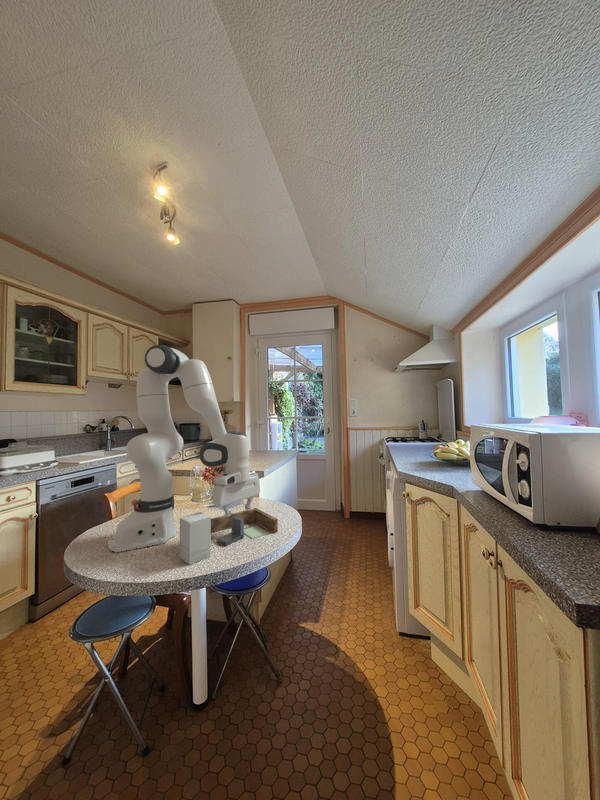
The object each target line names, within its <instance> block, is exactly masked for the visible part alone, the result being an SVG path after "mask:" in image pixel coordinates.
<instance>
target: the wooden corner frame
mask: <svg viewBox="0 0 600 800" xmlns="http://www.w3.org/2000/svg"><path fill="white" fill-rule="evenodd" d="M234 516H236V517H239V518H242V519H244V525H247V524H250V522H251V523H254V521H255V523H256V524H257V525H259V524H260V525H259V526H261V525H262V528H264V527H265V529H266V528H267V530H268V531H270V532H271V531H272V532H271V533H273V534H275V533H276V532H277V533H279V529H278V527H279V526H278V525H279V524H278V520H279V519H278V518H276V517H274V516H273V515H271V514H268V513H267V512H265V511H263V510H261V509H259V508H257V507H255V508H251V509H248V510H247V509H245V510H242V511H238V512H233V513H232V512H231V516H230V517H225V514H224V515H220V516H217V517H216V516H215V517H213V518H212V517H211V534H213V533H217V532H218V533H219V532H221V531H224V530H228V529H232V517H234ZM246 523H247V524H246Z"/></svg>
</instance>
